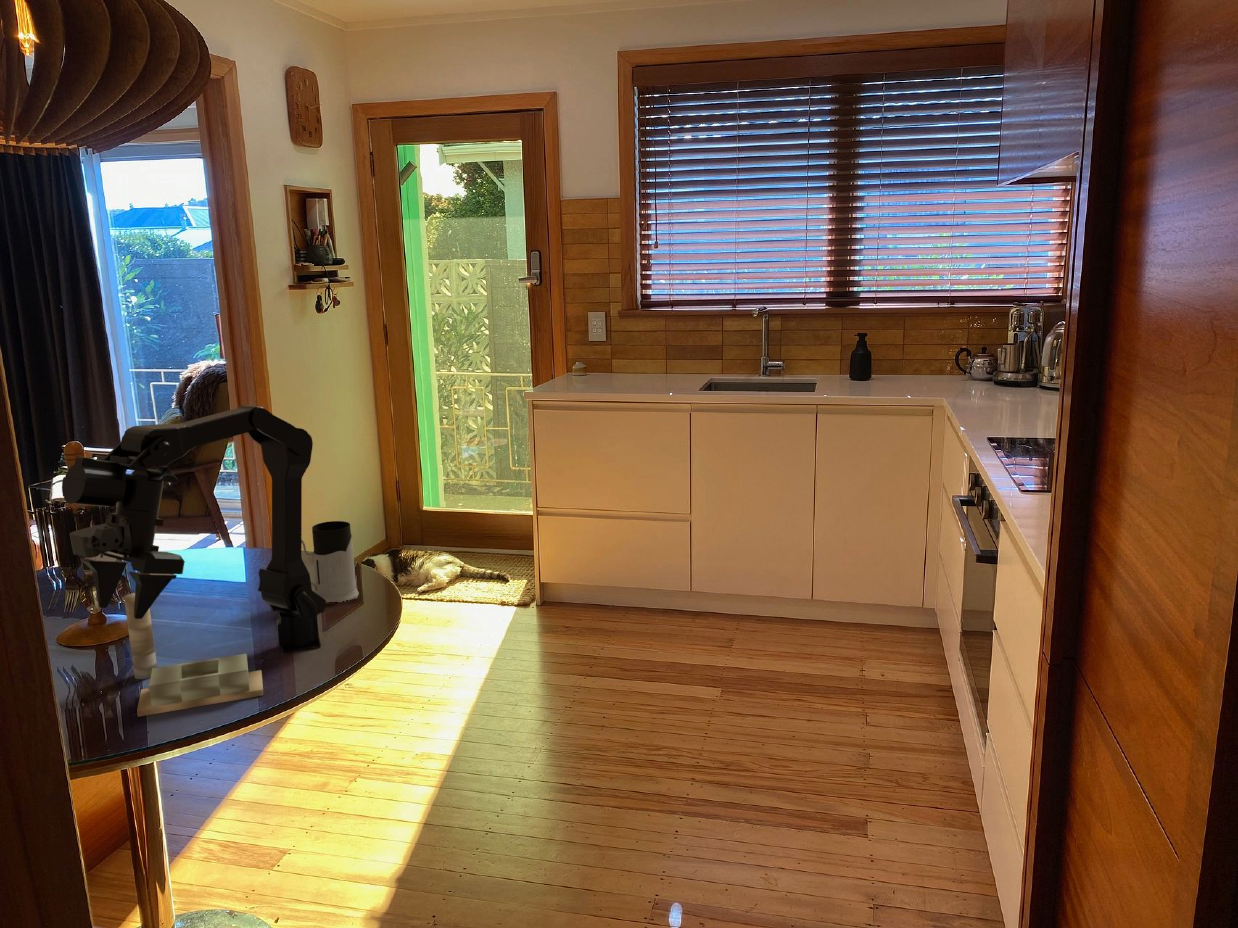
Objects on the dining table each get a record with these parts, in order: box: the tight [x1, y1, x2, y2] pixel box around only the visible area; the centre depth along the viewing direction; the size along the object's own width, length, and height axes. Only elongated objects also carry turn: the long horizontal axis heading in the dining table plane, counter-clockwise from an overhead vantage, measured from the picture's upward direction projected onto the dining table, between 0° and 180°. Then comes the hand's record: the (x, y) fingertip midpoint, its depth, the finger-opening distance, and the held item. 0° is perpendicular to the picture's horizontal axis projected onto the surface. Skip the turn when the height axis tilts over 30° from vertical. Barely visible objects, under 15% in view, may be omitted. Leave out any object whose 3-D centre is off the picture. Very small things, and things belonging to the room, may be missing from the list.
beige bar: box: [123, 592, 158, 680], centre depth 157 cm, size 4×4×14 cm
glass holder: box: [302, 520, 360, 604], centre depth 193 cm, size 9×14×15 cm, turn 116°
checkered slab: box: [136, 653, 264, 717], centre depth 150 cm, size 18×8×4 cm, turn 112°
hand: (120, 613), depth 141 cm, fingers open, 9 cm apart
